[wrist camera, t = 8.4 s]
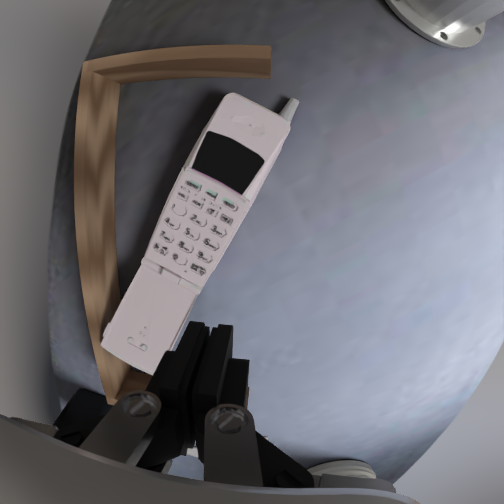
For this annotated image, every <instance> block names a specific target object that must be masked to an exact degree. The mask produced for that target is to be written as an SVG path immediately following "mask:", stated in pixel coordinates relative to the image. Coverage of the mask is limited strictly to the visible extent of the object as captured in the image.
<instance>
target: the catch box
mask: <svg viewBox="0 0 504 504" xmlns="http://www.w3.org/2000/svg"><path fill="white" fill-rule="evenodd" d="M270 76H271V46H260V45H201V46H184V47H172V48H162V49H153V50H145V51H138V52H131V53H125V54H119V55H113V56H108V57H103V58H98V59H94V60H89V61H85V62H83V67H82V73H81V80H80V88H79V96H78V105H77V116H76V129H75V148H74V208H75V227H76V240H77V251H78V261H79V270H80V278H81V285H82V292H83V298H84V305H85V310H86V316H87V321H88V327H89V331H90V336H91V341H92V346H93V350H94V354H95V358H96V362H97V366H98V370H99V374H100V378H101V382H102V385H103V389H104V392H105V396H106V399H107V402H108V404H110V405H115V403H116V402H117V401H118V400H119V399H120V398H121V397H122V396H123V395H124V394H126V393H128V392H131V391H135V390H144V391H145V390H146V388H147V386H148V384H149V382H150V380H151V378H152V376H153V375H150V374H145V373H140V372H135V371H132V370H131V365H130V364H128V363H126V362H124V361H123V360H121V359H119V358H118V357H116V356H115V355H113V354H112V353H110V352H109V351H107V350H106V349H104V348H103V347H102V346H101V343H102V340H103V338H104V337H103V333H104V331H105V329H106V327H107V325H108V323H111V320H112V319H113V317H114V315H115V313H116V311H117V309H118V307H119V305H120V303H121V297H120V288H119V277H118V266H117V252H116V234H115V201H114V177H115V144H116V127H117V113H118V102H119V92H120V84H125V83H133V82H142V81H152V80H164V79H179V78H206V77H237V78H264V79H270ZM248 396H249V387H247V396H246V405H245V409H247V406H248Z"/></svg>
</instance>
